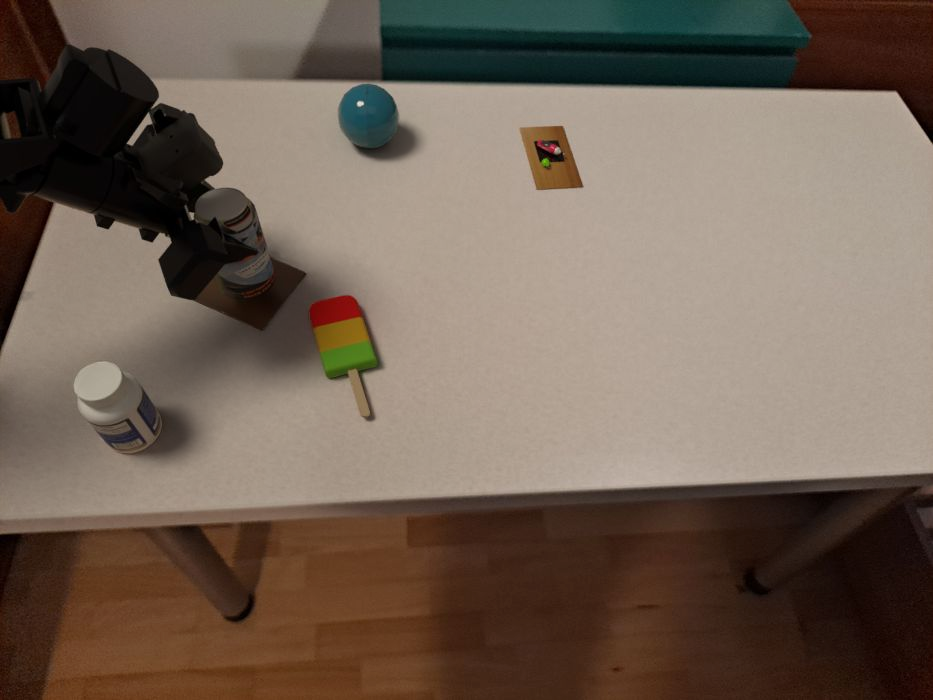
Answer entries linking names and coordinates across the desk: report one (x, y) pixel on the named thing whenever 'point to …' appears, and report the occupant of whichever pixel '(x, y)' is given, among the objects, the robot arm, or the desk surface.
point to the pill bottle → (117, 407)
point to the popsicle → (343, 342)
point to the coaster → (259, 308)
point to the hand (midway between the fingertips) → (247, 233)
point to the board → (550, 157)
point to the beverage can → (244, 226)
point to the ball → (368, 116)
